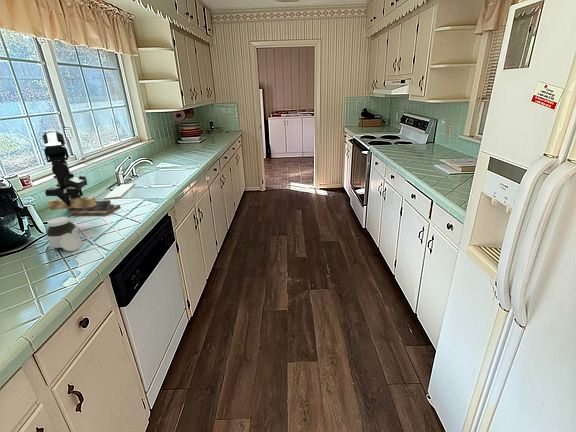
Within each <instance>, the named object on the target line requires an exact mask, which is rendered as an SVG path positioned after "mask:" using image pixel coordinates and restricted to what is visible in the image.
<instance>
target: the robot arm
mask: <svg viewBox="0 0 576 432" xmlns="http://www.w3.org/2000/svg"><path fill="white" fill-rule="evenodd" d="M42 140H43V143H44V148H43V151H44V155H45V158H46V162H47V163H51V170H52V173H53V174H54V176H52V177H53V179H56V181H57V184H56V187H50V188H48V189H46V190H45V191H44V193H45V196H46V197H57V198H58V199H61V200H62V201H63V202H64V203H65V204H66V205H67V206H71V205H70V201H69V198H81V197H82V196H84V194H83V188H85V186H88V182H87V181H88V180H87V178H86V176H85V175H79V176H77V177H76V176H75V175H74V173H71V171H70V169H69V165H68V162H67V161H68V160H69V158H70V156H69V155H70V154H69V151H68V149H67V147H65V145H66V142H65V138H64V135H63V134H62V133H59V132H58V131H57V130H45V131H44V134H43V135H42ZM69 210H77V209H76V208H70V209H69Z"/></svg>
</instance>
